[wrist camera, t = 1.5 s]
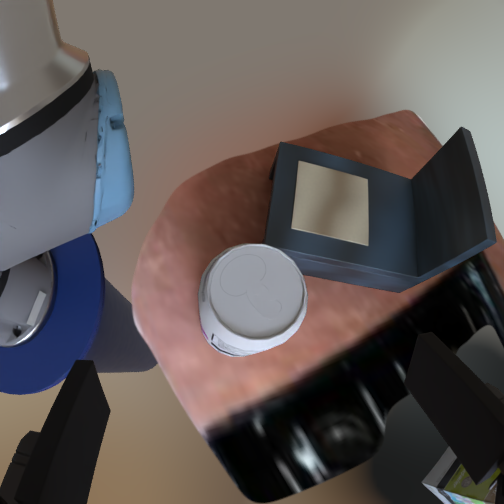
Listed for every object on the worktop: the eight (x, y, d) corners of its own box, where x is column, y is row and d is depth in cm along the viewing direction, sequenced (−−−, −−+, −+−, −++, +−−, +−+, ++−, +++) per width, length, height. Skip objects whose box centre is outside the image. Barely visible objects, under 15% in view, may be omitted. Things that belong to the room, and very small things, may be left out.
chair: (254, 265, 39) (295, 181, 22) (270, 170, 44) (306, 66, 27) (399, 293, 41) (497, 242, 23) (397, 203, 46) (470, 130, 29)
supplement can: (185, 316, 36) (174, 281, 22) (240, 272, 39) (262, 215, 25) (232, 371, 34) (251, 374, 20) (286, 324, 37) (336, 296, 23)
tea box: (447, 508, 30) (513, 529, 16) (418, 481, 31) (491, 505, 18) (498, 433, 35) (565, 433, 21) (475, 400, 36) (549, 396, 23)
